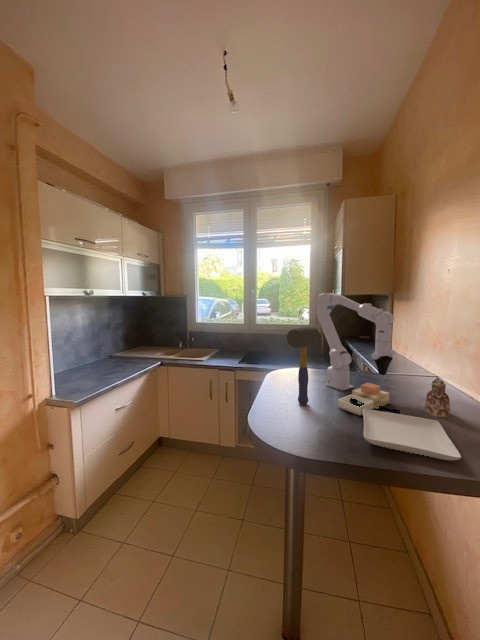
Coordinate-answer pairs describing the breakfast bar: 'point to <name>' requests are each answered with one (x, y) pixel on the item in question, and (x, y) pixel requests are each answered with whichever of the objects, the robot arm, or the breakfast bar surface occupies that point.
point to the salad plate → (408, 434)
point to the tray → (346, 405)
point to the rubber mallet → (303, 355)
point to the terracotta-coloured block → (370, 388)
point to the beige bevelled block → (373, 397)
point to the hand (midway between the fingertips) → (382, 374)
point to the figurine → (437, 400)
